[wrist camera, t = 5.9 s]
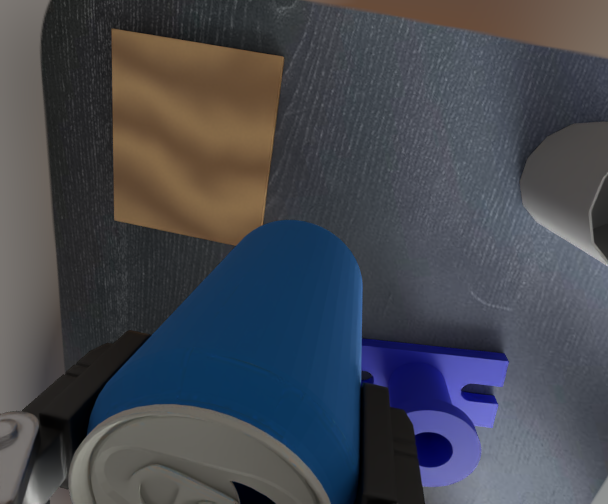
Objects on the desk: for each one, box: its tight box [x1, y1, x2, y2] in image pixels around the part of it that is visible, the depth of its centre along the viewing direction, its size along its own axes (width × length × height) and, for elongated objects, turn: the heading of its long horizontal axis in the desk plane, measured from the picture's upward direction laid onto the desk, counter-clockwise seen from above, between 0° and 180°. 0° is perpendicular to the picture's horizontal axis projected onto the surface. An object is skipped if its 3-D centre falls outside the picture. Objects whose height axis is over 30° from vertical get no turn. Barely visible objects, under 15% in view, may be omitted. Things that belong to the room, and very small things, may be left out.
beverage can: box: [68, 220, 363, 504], centre depth 13 cm, size 6×6×12 cm
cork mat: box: [112, 28, 284, 246], centre depth 33 cm, size 16×14×1 cm
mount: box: [361, 338, 509, 487], centre depth 33 cm, size 15×8×9 cm, turn 88°
